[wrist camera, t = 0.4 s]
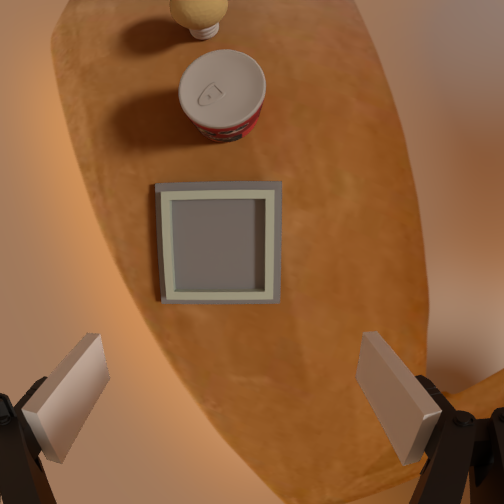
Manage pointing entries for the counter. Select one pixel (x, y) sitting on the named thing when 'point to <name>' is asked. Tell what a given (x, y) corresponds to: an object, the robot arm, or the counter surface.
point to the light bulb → (199, 16)
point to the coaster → (219, 242)
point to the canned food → (223, 94)
